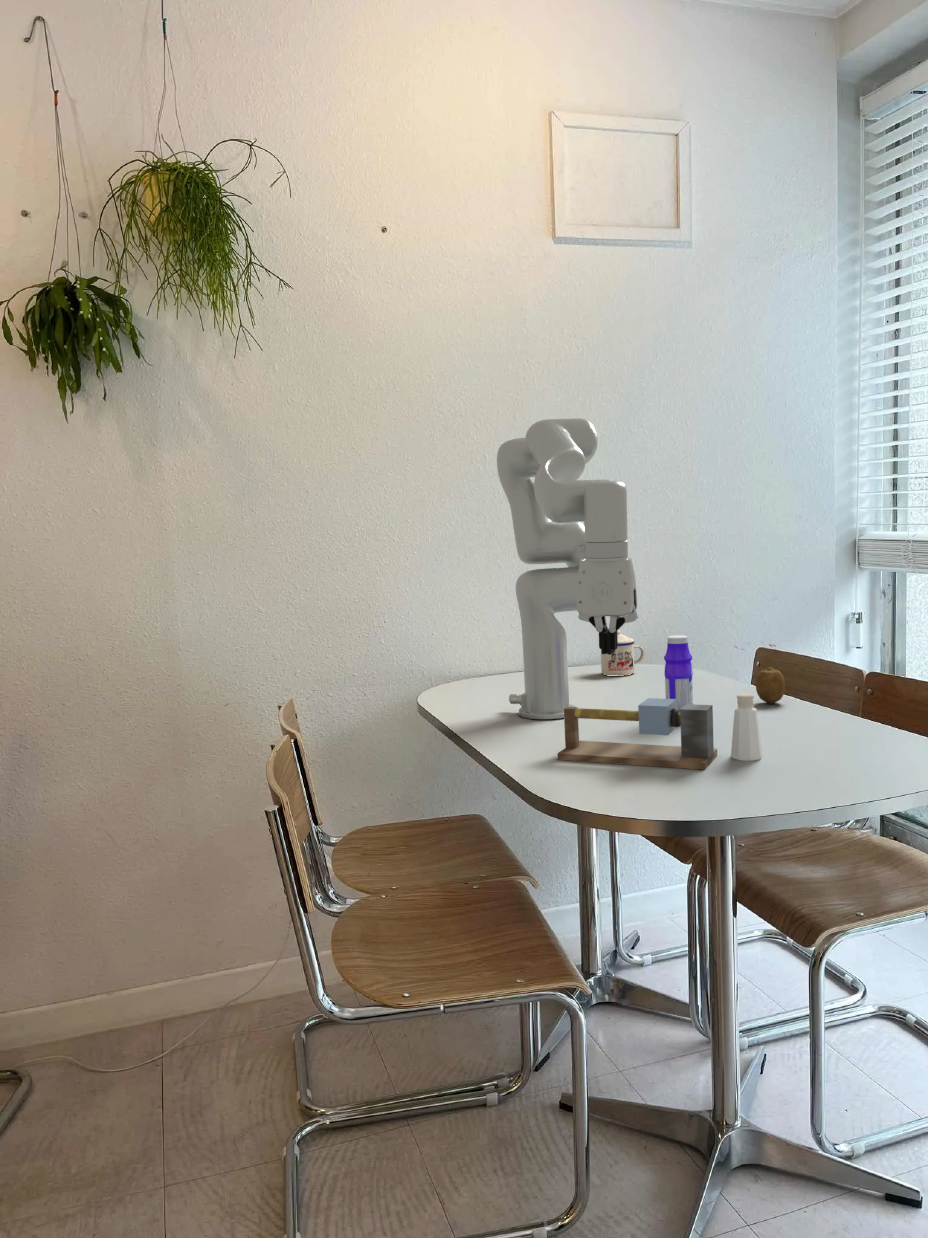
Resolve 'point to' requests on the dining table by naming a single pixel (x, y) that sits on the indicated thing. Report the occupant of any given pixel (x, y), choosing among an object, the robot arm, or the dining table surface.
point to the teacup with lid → (621, 657)
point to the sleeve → (656, 716)
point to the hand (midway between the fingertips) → (608, 652)
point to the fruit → (770, 685)
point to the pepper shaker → (746, 731)
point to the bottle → (678, 671)
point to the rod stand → (690, 754)
